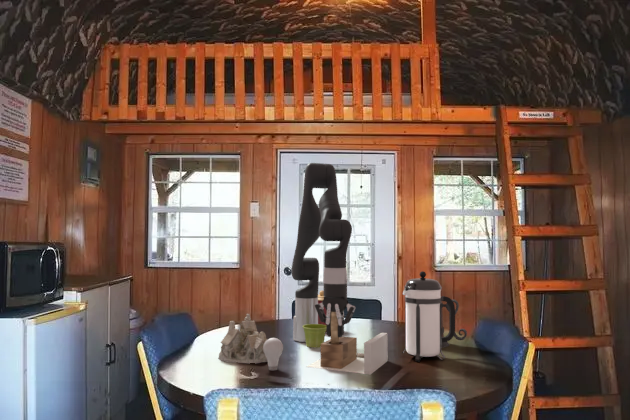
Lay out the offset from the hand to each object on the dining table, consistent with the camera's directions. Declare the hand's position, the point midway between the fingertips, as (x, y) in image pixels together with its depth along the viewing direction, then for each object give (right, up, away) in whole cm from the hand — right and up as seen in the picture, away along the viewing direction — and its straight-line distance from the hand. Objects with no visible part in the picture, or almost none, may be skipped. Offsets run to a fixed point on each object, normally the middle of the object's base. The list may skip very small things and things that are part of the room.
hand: (335, 336), depth 164 cm
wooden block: (+13, -11, +10) cm, 20 cm away
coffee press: (+33, -12, +17) cm, 39 cm away
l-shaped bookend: (+4, -11, +2) cm, 11 cm away
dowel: (0, -4, 0) cm, 4 cm away
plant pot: (-6, -12, +28) cm, 31 cm away
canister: (-3, -14, +67) cm, 69 cm away
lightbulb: (-19, -10, -6) cm, 23 cm away
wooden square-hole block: (+1, -9, +3) cm, 10 cm away
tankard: (+41, -13, +39) cm, 58 cm away
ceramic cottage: (-31, -11, +14) cm, 36 cm away
